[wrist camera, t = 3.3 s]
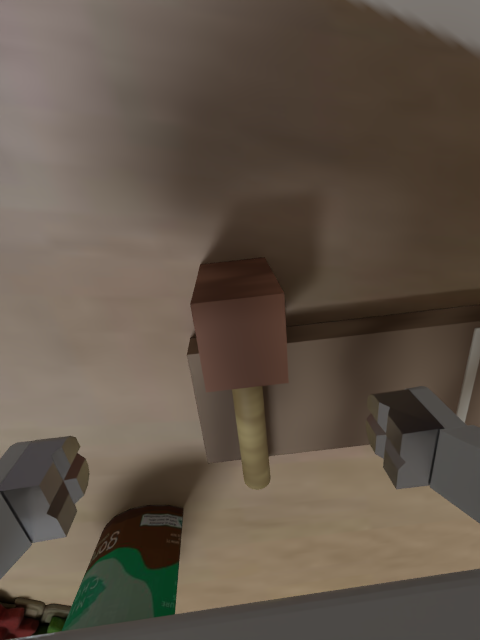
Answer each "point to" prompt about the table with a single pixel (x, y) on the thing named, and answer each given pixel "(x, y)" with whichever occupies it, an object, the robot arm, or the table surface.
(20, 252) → the table surface
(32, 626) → the gear puzzle
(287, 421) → the walnut board
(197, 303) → the toy wooden hammer
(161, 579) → the food container
